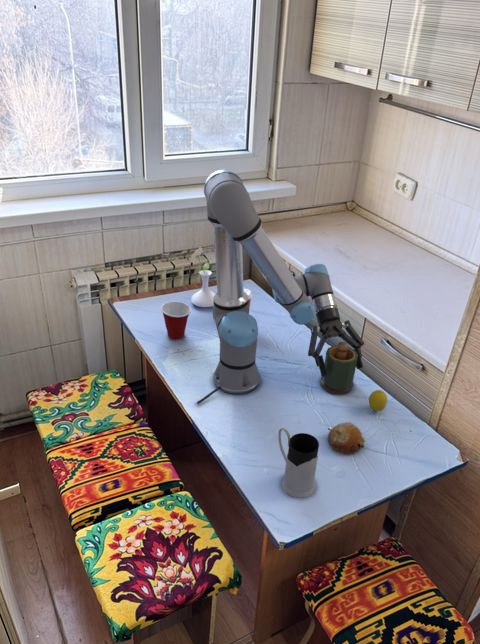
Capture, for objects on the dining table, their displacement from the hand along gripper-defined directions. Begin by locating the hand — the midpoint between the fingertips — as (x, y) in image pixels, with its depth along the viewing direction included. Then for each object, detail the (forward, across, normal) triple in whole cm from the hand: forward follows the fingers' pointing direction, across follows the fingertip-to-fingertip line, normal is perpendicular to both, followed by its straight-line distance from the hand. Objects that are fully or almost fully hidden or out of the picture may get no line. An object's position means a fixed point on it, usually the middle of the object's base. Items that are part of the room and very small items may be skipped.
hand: (342, 372), depth 183 cm
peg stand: (+3, 0, -6) cm, 7 cm away
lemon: (+15, -5, +5) cm, 16 cm away
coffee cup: (-29, +17, -39) cm, 51 cm away
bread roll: (+22, +12, +12) cm, 28 cm away
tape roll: (+2, 0, -5) cm, 6 cm away
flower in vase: (-44, +24, -53) cm, 73 cm away
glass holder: (+27, +33, +17) cm, 46 cm away
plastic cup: (-29, +42, -39) cm, 64 cm away
